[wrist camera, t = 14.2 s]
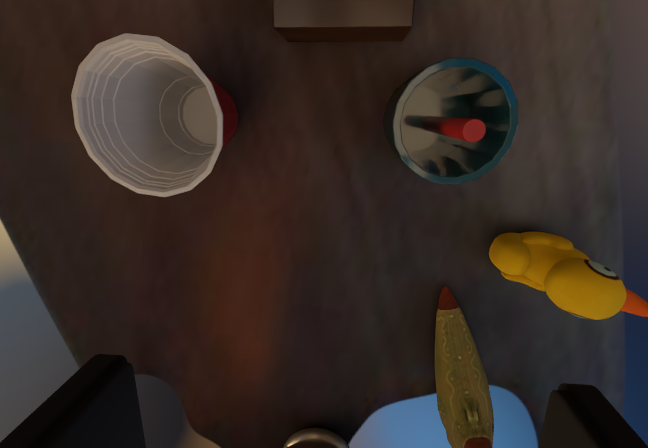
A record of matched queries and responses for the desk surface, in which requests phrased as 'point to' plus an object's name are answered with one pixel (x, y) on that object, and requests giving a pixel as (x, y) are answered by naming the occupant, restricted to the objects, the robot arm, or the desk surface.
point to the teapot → (315, 439)
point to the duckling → (564, 275)
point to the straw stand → (343, 20)
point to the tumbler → (457, 102)
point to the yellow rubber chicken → (460, 379)
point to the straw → (455, 127)
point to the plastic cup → (150, 114)
